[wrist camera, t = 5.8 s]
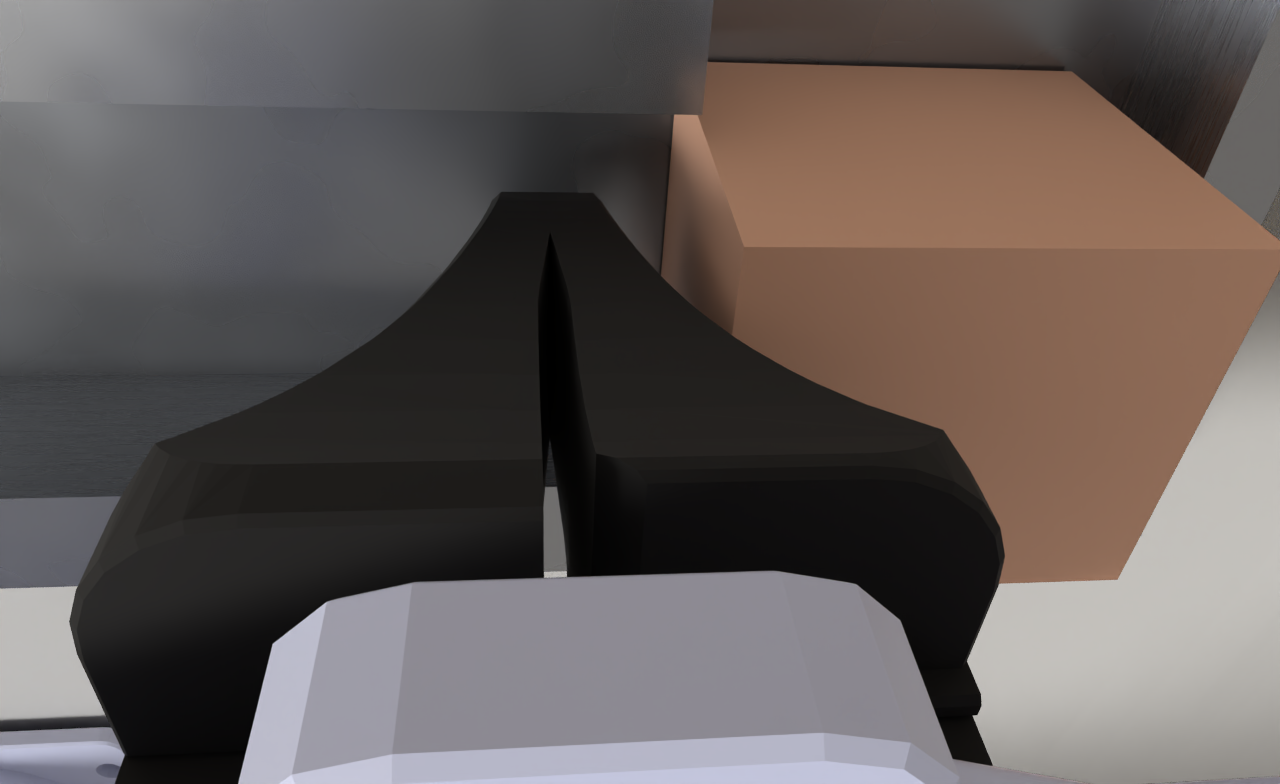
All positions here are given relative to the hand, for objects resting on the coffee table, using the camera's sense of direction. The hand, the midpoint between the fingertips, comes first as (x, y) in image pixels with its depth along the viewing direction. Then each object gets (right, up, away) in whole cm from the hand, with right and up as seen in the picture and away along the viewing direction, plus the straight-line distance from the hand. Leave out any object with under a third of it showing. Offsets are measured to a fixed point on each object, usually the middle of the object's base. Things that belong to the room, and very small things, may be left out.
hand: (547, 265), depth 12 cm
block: (+4, +1, +1) cm, 4 cm away
